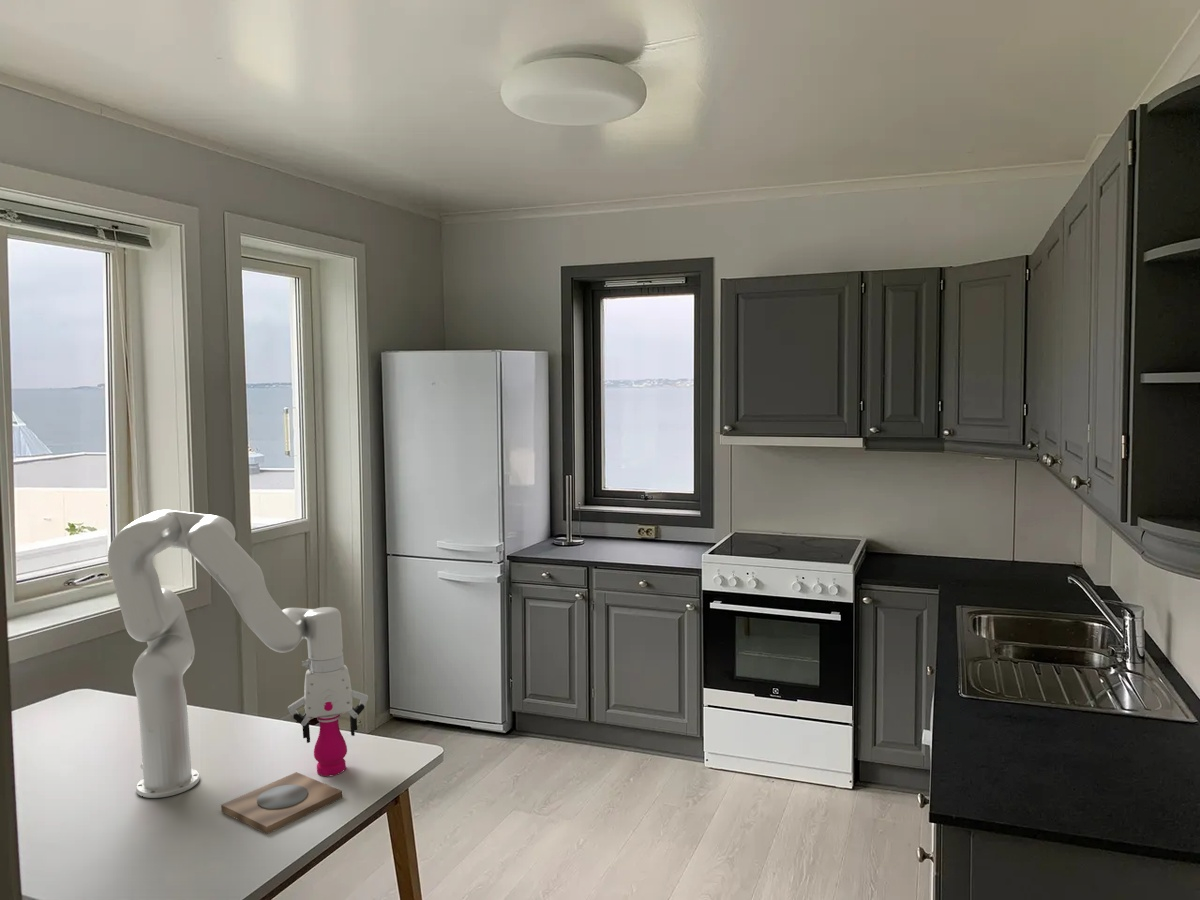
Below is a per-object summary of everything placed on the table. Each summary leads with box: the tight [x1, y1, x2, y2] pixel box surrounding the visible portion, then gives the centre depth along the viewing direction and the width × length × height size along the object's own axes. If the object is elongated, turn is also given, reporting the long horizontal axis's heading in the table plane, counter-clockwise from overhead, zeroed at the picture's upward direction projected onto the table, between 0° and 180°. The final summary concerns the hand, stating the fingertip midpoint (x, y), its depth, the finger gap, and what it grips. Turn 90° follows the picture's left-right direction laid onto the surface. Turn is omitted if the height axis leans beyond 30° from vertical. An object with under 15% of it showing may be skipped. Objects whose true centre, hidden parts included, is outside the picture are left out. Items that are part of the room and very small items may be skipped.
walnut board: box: [220, 771, 344, 835], centre depth 188 cm, size 16×18×2 cm
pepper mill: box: [313, 702, 348, 777], centre depth 203 cm, size 7×7×20 cm
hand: (330, 737), depth 203 cm, fingers open, 9 cm apart
